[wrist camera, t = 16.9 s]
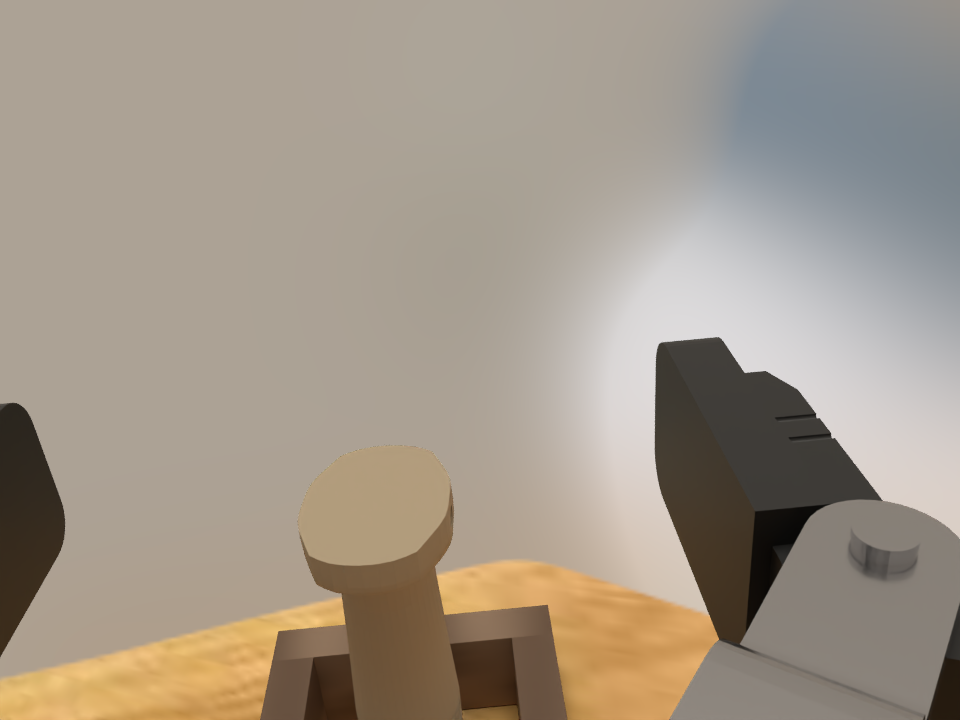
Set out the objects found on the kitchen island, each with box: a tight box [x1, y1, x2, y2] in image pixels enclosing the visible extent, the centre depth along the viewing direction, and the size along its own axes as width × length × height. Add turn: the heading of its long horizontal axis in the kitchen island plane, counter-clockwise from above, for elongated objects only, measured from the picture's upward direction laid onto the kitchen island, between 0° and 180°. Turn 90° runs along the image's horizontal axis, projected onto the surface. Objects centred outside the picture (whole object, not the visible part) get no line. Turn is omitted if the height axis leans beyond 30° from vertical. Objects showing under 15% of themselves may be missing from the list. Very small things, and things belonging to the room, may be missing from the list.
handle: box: [298, 445, 463, 720], centre depth 32 cm, size 5×6×15 cm
